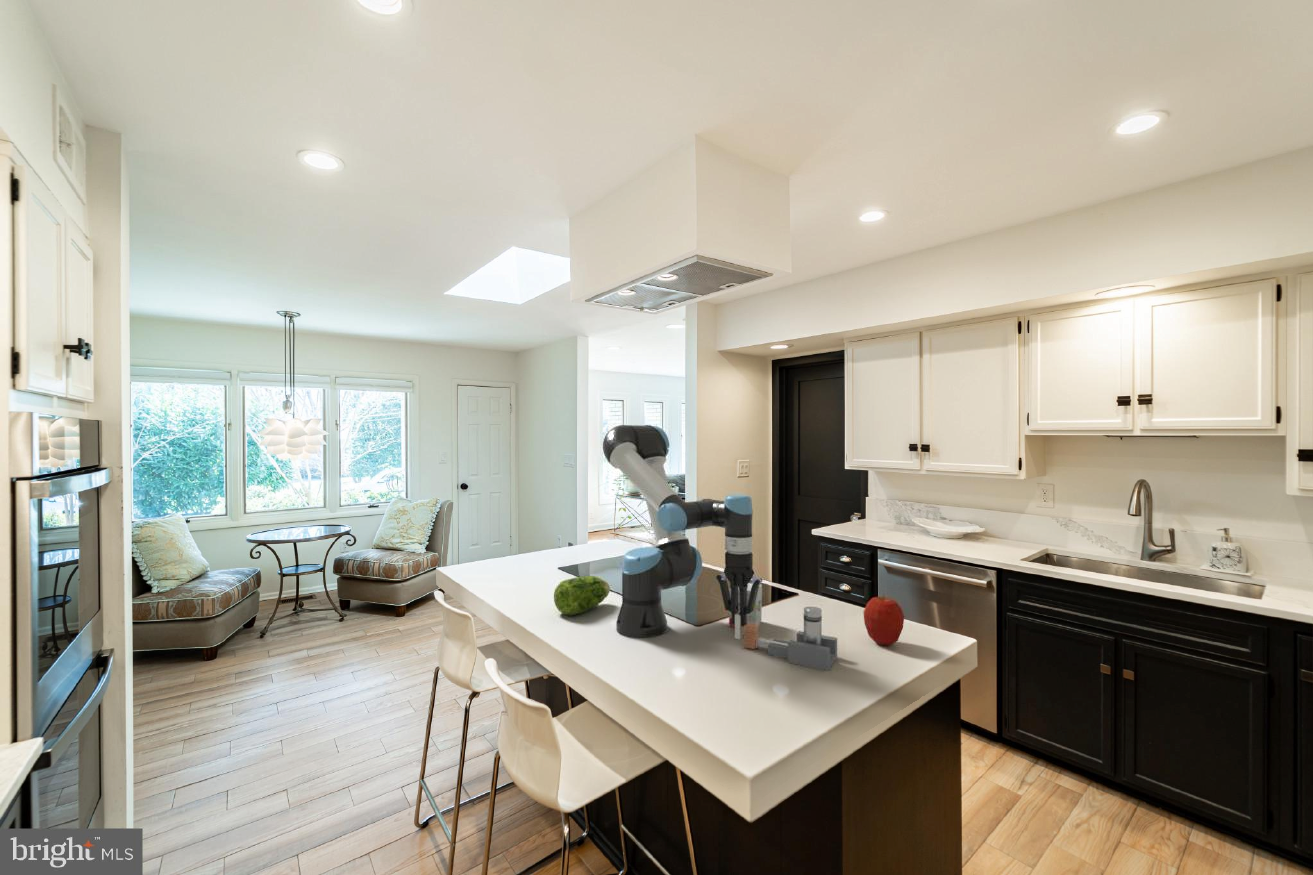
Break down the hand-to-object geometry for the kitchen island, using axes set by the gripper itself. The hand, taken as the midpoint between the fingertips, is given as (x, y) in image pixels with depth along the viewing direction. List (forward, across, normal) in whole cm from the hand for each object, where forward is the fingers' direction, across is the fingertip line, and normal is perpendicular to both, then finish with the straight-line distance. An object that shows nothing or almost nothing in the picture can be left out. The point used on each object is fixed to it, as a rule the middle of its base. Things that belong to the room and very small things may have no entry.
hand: (739, 637), depth 153 cm
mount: (+2, +17, 0) cm, 17 cm away
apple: (+3, +34, +21) cm, 40 cm away
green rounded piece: (+2, -56, +3) cm, 56 cm away
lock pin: (+2, +8, 0) cm, 9 cm away
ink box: (+2, -5, +17) cm, 18 cm away
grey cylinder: (+2, +20, 0) cm, 20 cm away
